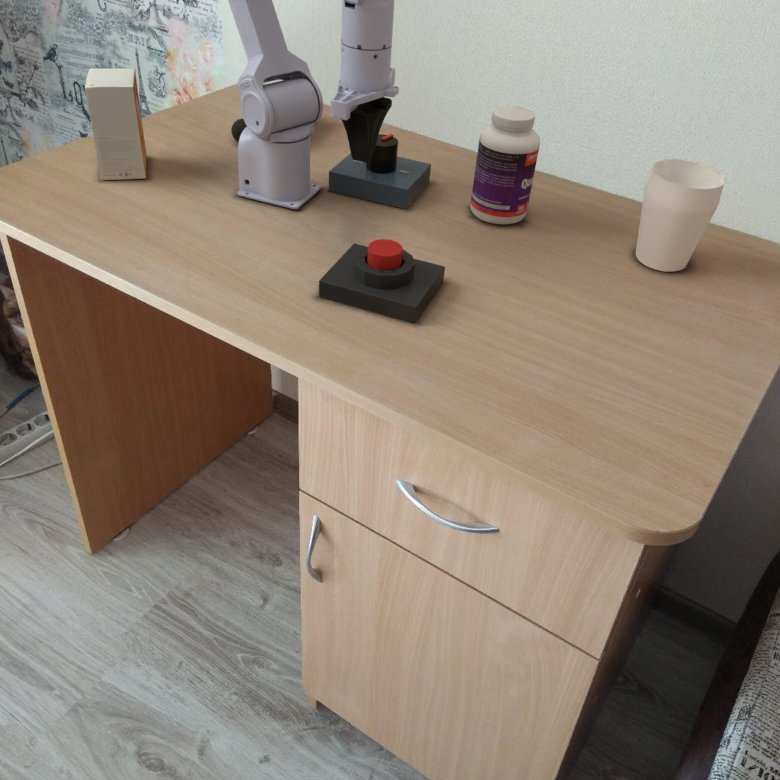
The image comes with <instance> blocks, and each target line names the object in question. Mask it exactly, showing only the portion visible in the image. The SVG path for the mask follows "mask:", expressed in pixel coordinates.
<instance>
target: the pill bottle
mask: <svg viewBox="0 0 780 780" xmlns="http://www.w3.org/2000/svg"><path fill="white" fill-rule="evenodd" d="M535 118H536V114H535V112H533V111H532V110H530V109H528V108H525V107H523V106H517V105H498V106H496V107H494V109H492V114H491V123H490V124H488V125H486V126H485V127H484V128H483V129H482V130H481V132H480V134H479V140H478V147H477V154H476V161H475V167H474V176H473V182H472V190H471V196H470V204H469V207H470V210H471V212H472V214H473V215H474V216H475V217H476V218H477V219H479V220H481V221H482V222H485V223H489V224H495V225H513V224H516V223H519V222H521V221H522V220H523V219H525V217H526V216H527V213H528V209H529V203H530V198H531V192H532V187H533V184H534V183H533V182H534V177H535V172H536V166H537V161H538V157H539V150H540V145H541V139H540V138H541V137H540V136H539V135H538V133H537V132H536V130H535V129H533V128H534V125H535V121H536V120H535Z"/></svg>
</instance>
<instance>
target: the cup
mask: <svg viewBox="0 0 780 780" xmlns="http://www.w3.org/2000/svg"><path fill="white" fill-rule="evenodd" d="M725 183H726V178H725V176H724V175H723V174H722V173H721V172H720V171H718V170H717V169H715V168H714V167H711V166H709V165H706V164H703V163H700V162H698V161H692V160H688V159H687V160H686V159H677V158H676V159H675V158H671V159H669V158H668V159H662V160H659V161H656V162H655V163H654V164H653V165H652V168H651V170H650V173H649V176H648V179H647V181H646V183H645V187H644V191H643V197H642V204H641V210H640V218H639V225H638V226H639V227H638V233H637V239H636V240H637V241H636V247H635V257H636V259H637V260H638V261H639V262H640V264H642V265H644V266H646V267H647V268H649V269H652V270H655V271H659V272H665V273H666V272H669V273H670V272H671V273H672V272H679V271H682V270H683V269H685V268H686V267H687V266H688V263H689V262H690V259H691V258H692V256H693V254H694V252H695V250H696V249H697V247H698V244H699V243H700V241H701V239H702V237H703V235H704V233H705V232H706V229H707V228H708V226H709V224H710V222H711V220H712V218H713V216H714V215H715V213H716V211H717V209H718V207H719V204H720V200H721V196H722V193H723V189H724V186H725Z"/></svg>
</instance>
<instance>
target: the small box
mask: <svg viewBox="0 0 780 780" xmlns="http://www.w3.org/2000/svg"><path fill="white" fill-rule="evenodd" d="M136 73H137V72H136V68H107V67H105V68H104V67H103V68H97V67H96V68H94V67H93V68H92V67H91V68H89V69H88V71H87V74H86V75H87V76H86V78H85V85H84V91H85V98H86V103H87V108H88V115H89V120H90V124H91V125H90V126H91V132H92V137H93V141H94V142H93V143H94V148H95V153H96V159H97V165H98V171H99V178H100V180H101V181H109V180H110V181H113V180H114V181H116V180H117V181H118V180H139V179H140V180H141V179H147V148H146V141H145V135H144V128H143V120H142V119H143V118H142V111H141V105H140V97H139V89H138V81H137V74H136Z"/></svg>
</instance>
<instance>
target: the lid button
mask: <svg viewBox="0 0 780 780" xmlns="http://www.w3.org/2000/svg"><path fill="white" fill-rule="evenodd" d="M367 247H368V255H367V263H368V265H369V266H371V267H372V268H375V269H379V270H394V269H397V268H400V266H401V264H402V252H403V250H404V248H403V245H401V243H399V242H398V241H395V240H393V239H387V238H380V239H374V240H373V241H371V242H369V244H368V245H367Z"/></svg>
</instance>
